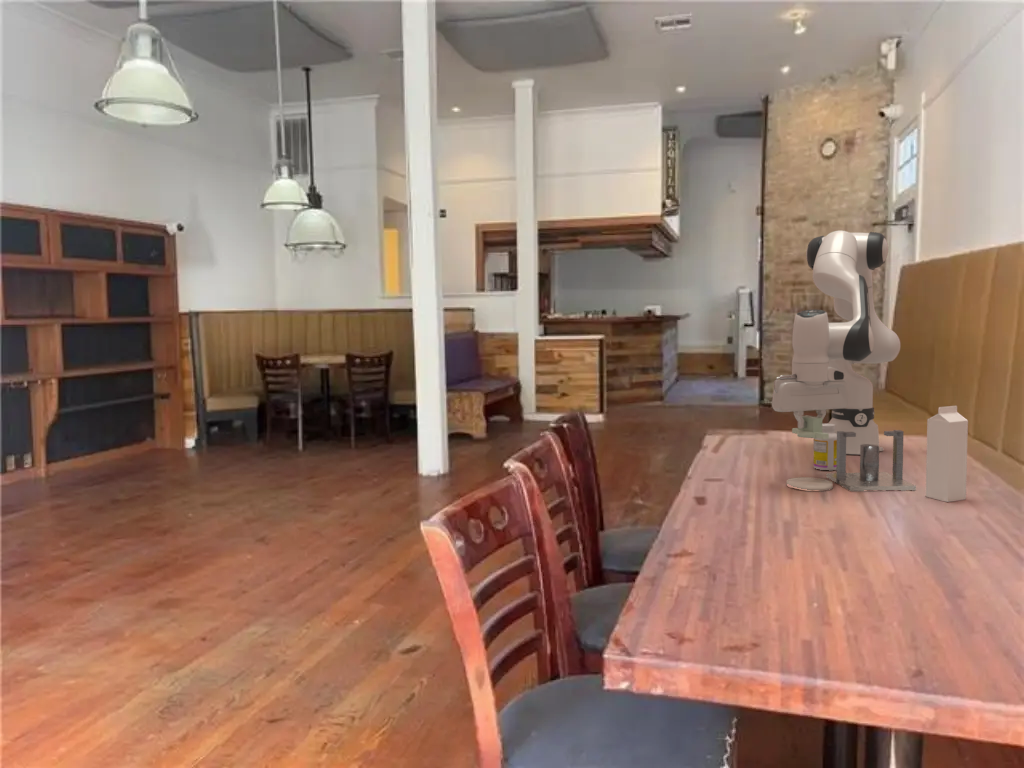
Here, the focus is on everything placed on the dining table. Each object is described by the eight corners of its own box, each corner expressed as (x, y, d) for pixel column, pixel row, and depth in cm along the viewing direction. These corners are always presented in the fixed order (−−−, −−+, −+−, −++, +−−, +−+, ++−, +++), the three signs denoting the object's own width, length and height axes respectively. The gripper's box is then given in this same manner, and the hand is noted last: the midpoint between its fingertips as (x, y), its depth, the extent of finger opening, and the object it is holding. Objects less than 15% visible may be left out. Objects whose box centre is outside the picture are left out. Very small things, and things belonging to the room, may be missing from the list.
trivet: (780, 482, 198) (780, 477, 198) (823, 481, 198) (823, 477, 198) (794, 491, 187) (794, 487, 187) (839, 491, 187) (839, 486, 187)
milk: (925, 497, 179) (926, 405, 177) (943, 494, 181) (945, 404, 180) (948, 502, 174) (949, 408, 172) (966, 499, 176) (968, 406, 174)
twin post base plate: (826, 477, 202) (826, 427, 201) (886, 476, 202) (887, 425, 200) (850, 491, 186) (851, 436, 185) (915, 490, 186) (917, 435, 184)
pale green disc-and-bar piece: (803, 432, 198) (804, 413, 197) (835, 438, 187) (835, 418, 186) (785, 434, 196) (785, 415, 195) (816, 440, 185) (816, 420, 184)
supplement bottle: (834, 466, 216) (834, 422, 215) (842, 471, 209) (842, 426, 208) (810, 466, 217) (810, 423, 216) (817, 471, 210) (817, 426, 209)
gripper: (781, 376, 184) (781, 431, 186) (852, 373, 189) (851, 427, 191) (767, 374, 190) (766, 428, 192) (836, 371, 196) (835, 423, 197)
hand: (809, 427), depth 191 cm, fingers closed on pale green disc-and-bar piece, 3 cm apart
